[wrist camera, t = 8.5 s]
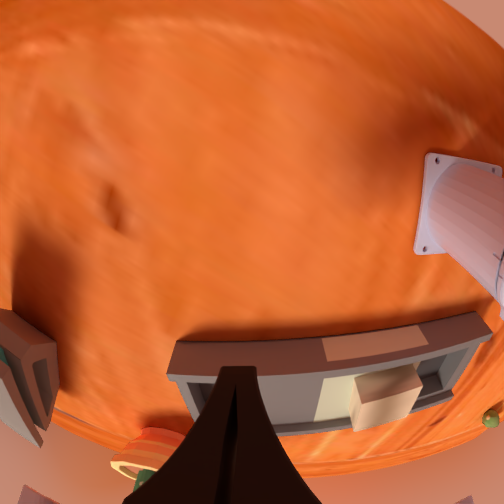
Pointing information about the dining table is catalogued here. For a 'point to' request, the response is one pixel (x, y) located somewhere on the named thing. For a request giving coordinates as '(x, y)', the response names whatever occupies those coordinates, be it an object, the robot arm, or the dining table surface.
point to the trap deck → (331, 369)
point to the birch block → (383, 396)
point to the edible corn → (491, 419)
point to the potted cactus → (146, 454)
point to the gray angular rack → (26, 376)
